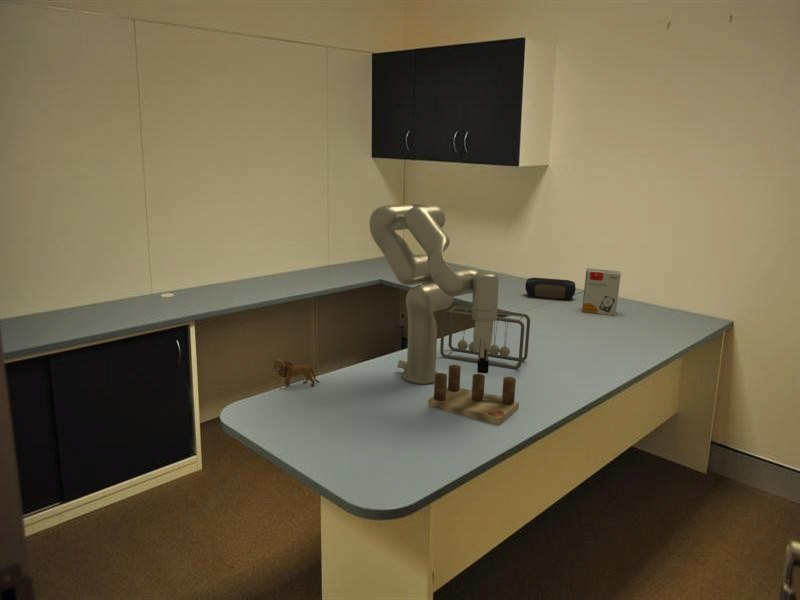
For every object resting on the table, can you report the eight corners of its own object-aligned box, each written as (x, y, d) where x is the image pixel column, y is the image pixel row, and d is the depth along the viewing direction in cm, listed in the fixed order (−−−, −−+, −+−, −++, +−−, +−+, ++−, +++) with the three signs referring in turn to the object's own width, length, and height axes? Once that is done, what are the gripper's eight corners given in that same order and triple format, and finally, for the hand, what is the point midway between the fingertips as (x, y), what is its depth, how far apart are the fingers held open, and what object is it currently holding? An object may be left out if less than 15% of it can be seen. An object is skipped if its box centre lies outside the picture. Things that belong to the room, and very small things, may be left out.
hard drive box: (581, 312, 305) (585, 270, 300) (582, 308, 312) (586, 267, 307) (616, 315, 300) (620, 273, 296) (615, 311, 307) (620, 270, 303)
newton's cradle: (439, 357, 236) (441, 310, 232) (448, 349, 246) (451, 304, 241) (520, 370, 225) (524, 321, 221) (527, 361, 234) (531, 314, 230)
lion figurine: (273, 389, 202) (272, 362, 200) (273, 383, 207) (272, 356, 205) (320, 386, 205) (320, 359, 203) (319, 380, 210) (319, 354, 208)
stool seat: (428, 405, 193) (429, 375, 190) (449, 391, 204) (451, 362, 202) (499, 424, 181) (502, 393, 179) (518, 408, 193) (520, 378, 190)
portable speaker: (523, 298, 330) (525, 279, 328) (525, 293, 339) (526, 275, 337) (574, 302, 324) (576, 282, 322) (574, 297, 334) (576, 278, 331)
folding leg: (514, 399, 193) (516, 377, 191) (513, 404, 189) (515, 381, 187) (472, 395, 195) (473, 373, 193) (470, 399, 192) (472, 377, 190)
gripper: (474, 307, 201) (472, 363, 205) (469, 319, 187) (467, 379, 191) (498, 308, 199) (496, 365, 203) (495, 320, 185) (493, 381, 189)
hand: (482, 372), depth 197 cm, fingers closed
